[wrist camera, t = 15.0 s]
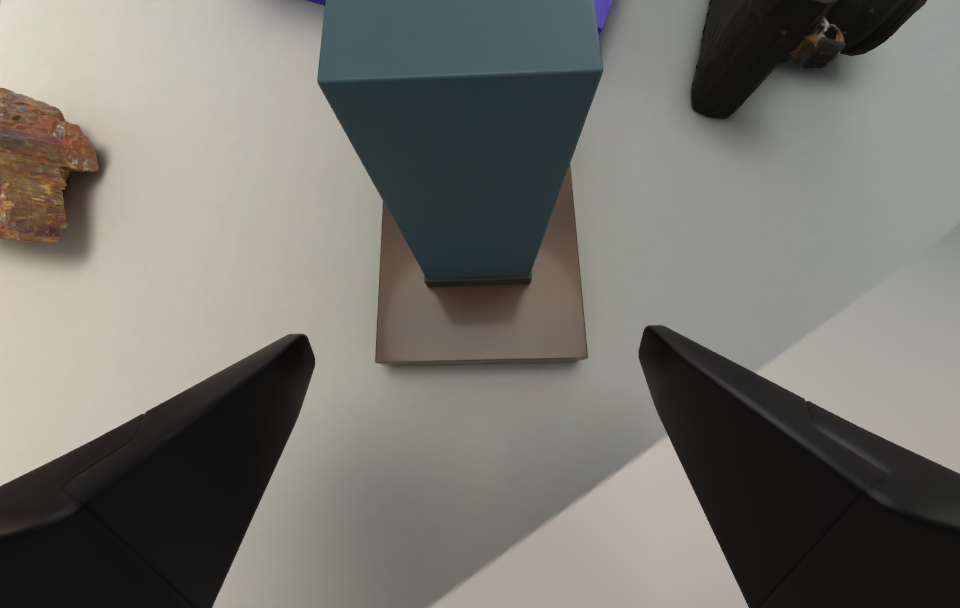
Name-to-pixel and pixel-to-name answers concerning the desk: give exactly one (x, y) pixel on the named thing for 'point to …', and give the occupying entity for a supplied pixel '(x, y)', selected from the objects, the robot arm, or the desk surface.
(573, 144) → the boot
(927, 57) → the desk surface
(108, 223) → the desk surface
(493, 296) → the brown lipped tray
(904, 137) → the desk surface
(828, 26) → the film camera
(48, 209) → the mineral specimen
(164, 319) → the desk surface
